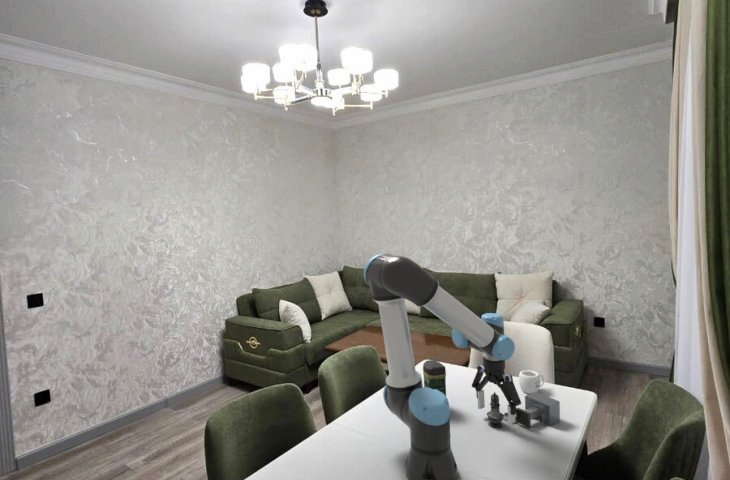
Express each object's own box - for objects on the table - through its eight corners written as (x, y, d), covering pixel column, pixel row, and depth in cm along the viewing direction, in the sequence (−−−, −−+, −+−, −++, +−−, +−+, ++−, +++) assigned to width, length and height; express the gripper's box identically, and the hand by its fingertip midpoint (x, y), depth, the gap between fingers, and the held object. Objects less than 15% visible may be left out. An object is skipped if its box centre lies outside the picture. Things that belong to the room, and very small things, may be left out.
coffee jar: (450, 412, 156) (448, 365, 155) (431, 415, 154) (429, 367, 153) (439, 401, 166) (438, 357, 165) (421, 404, 164) (420, 359, 163)
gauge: (533, 434, 138) (533, 413, 138) (499, 417, 151) (498, 398, 150) (559, 421, 146) (559, 401, 146) (525, 406, 158) (524, 387, 158)
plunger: (528, 427, 141) (528, 413, 140) (504, 416, 150) (503, 402, 149) (545, 420, 145) (544, 406, 145) (520, 409, 154) (519, 396, 154)
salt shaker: (485, 426, 145) (484, 393, 144) (488, 419, 150) (487, 387, 149) (502, 430, 142) (501, 396, 141) (505, 422, 147) (504, 390, 146)
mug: (529, 397, 166) (528, 378, 166) (514, 389, 174) (514, 371, 174) (551, 391, 171) (551, 373, 170) (536, 384, 179) (536, 366, 178)
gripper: (530, 364, 136) (532, 425, 137) (474, 346, 157) (477, 399, 158) (516, 369, 132) (518, 433, 133) (460, 350, 153) (463, 405, 154)
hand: (495, 415), depth 146 cm, fingers open, 13 cm apart
